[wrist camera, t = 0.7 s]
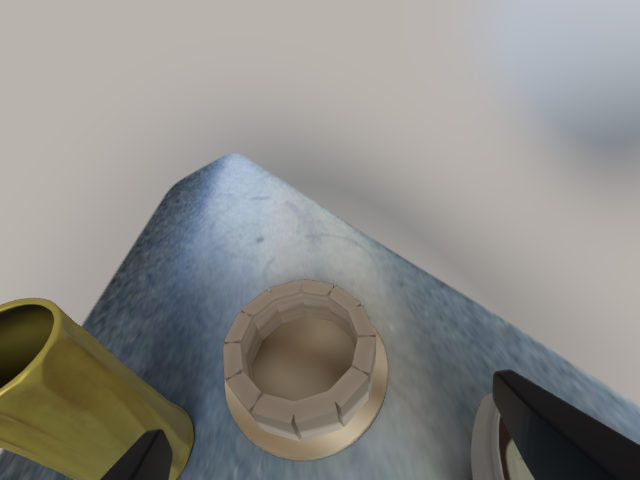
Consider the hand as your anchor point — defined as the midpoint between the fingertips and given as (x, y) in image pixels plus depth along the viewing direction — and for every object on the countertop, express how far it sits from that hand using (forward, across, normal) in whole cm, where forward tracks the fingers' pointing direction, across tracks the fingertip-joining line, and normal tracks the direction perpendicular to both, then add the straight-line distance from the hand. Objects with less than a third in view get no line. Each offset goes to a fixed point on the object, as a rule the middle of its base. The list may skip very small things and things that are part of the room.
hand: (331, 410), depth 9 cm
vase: (+11, +13, +13) cm, 21 cm away
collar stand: (+14, +2, +11) cm, 18 cm away
